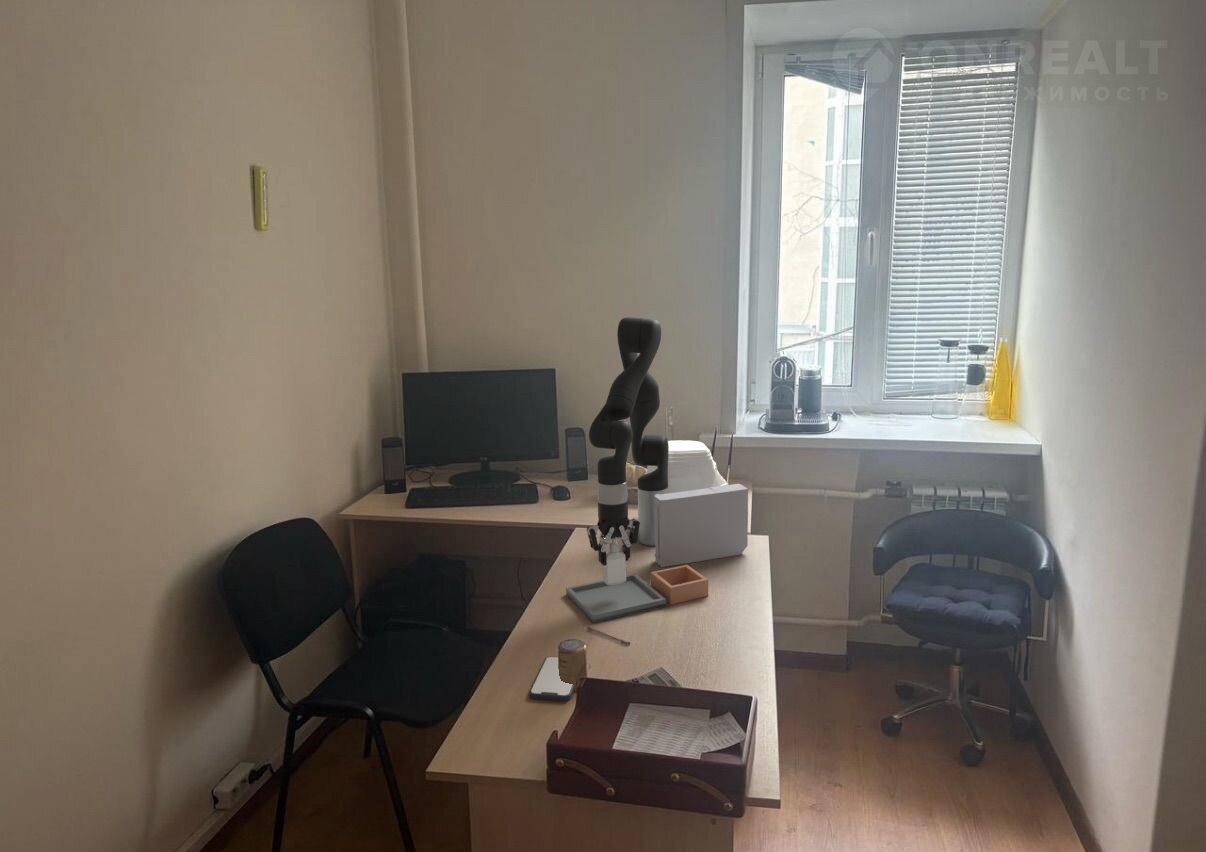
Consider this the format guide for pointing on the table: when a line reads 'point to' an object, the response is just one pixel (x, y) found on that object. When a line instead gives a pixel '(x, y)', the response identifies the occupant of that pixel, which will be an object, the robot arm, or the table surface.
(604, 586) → the tray
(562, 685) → the phone case
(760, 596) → the table surface
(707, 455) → the paper stack
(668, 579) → the holder box
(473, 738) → the table surface
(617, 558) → the eye dropper bottle
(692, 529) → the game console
